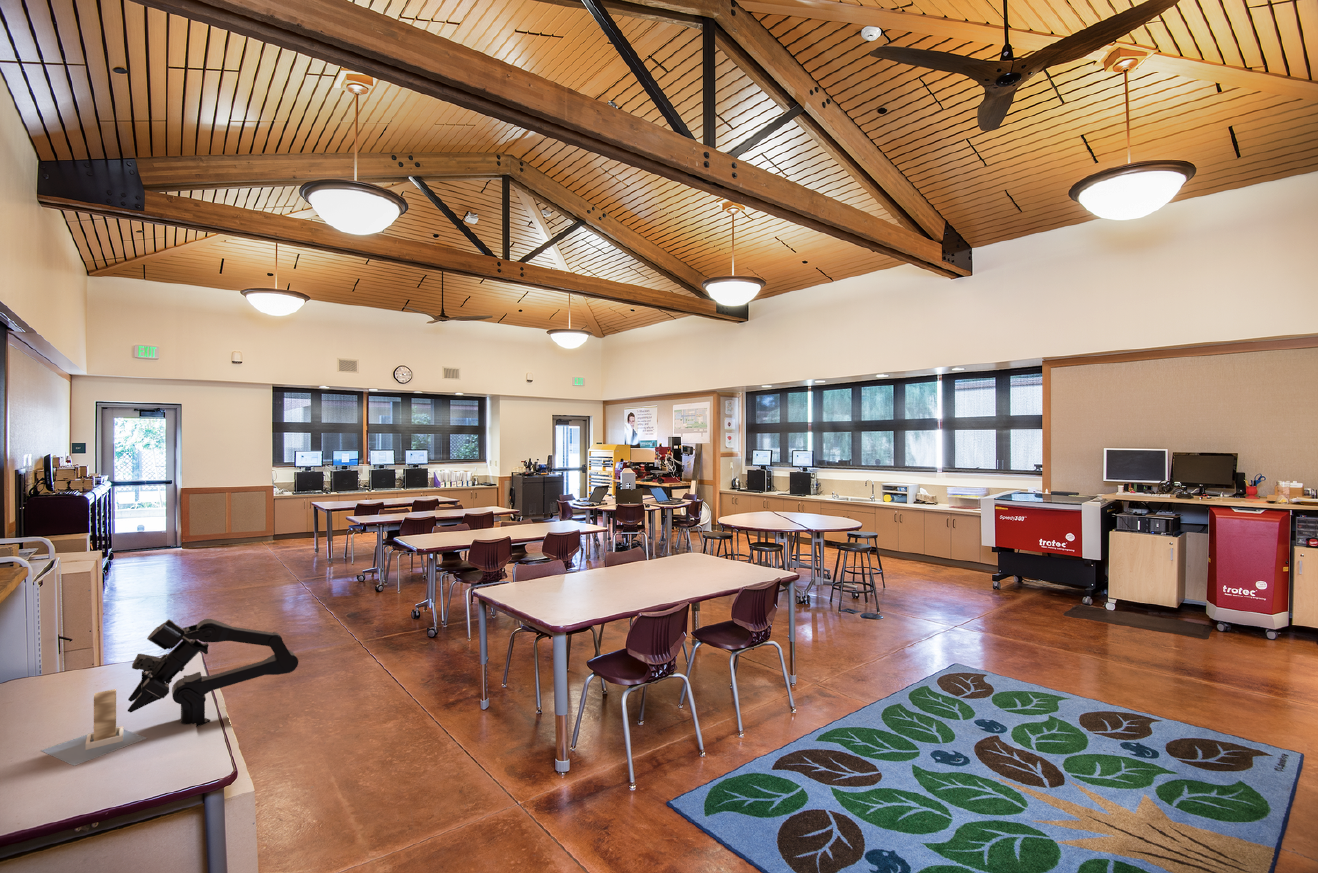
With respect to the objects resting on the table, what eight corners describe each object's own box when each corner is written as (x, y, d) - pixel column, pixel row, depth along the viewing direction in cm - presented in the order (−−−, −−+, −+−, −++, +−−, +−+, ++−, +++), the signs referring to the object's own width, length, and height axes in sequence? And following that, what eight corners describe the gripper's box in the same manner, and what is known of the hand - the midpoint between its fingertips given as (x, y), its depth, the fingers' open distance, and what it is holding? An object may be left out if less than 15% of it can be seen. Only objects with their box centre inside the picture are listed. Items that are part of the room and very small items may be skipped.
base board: (147, 742, 172) (147, 738, 172) (74, 770, 158) (74, 765, 158) (113, 729, 180) (113, 725, 180) (40, 755, 166) (40, 750, 166)
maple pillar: (116, 734, 174) (116, 689, 174) (115, 740, 171) (115, 694, 171) (94, 739, 172) (94, 693, 172) (93, 746, 168) (93, 698, 168)
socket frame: (123, 731, 177) (123, 725, 177) (122, 741, 171) (122, 735, 171) (87, 739, 172) (87, 734, 172) (85, 750, 166) (85, 744, 166)
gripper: (153, 635, 185) (103, 681, 178) (153, 651, 171) (100, 702, 164) (186, 655, 190) (139, 701, 183) (189, 673, 176) (138, 723, 169)
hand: (129, 706), depth 175 cm, fingers open, 9 cm apart
